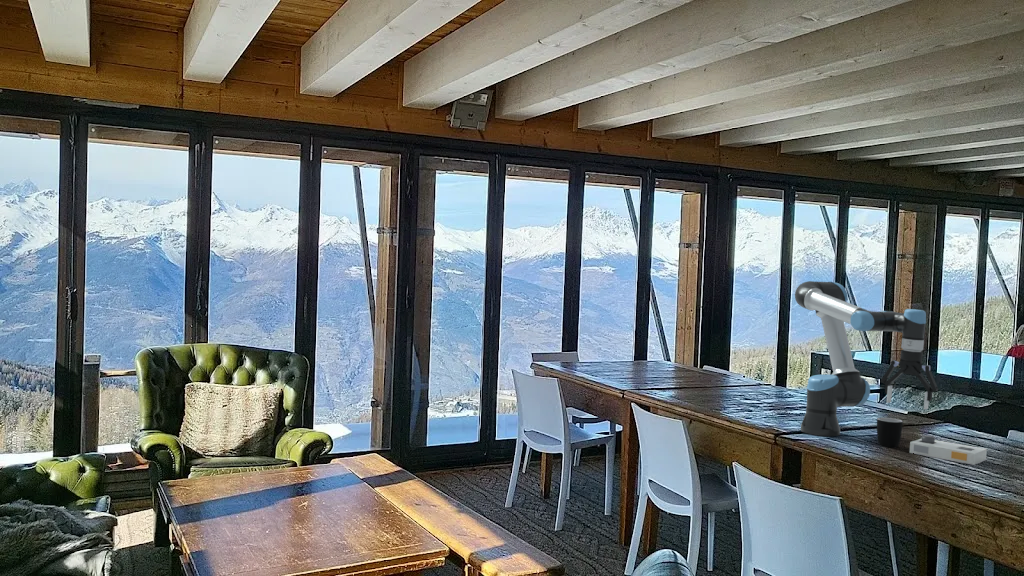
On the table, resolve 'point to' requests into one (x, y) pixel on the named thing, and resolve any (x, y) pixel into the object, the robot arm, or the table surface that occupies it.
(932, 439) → the dark grey rounded piece
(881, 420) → the mug
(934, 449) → the white rectangular box
